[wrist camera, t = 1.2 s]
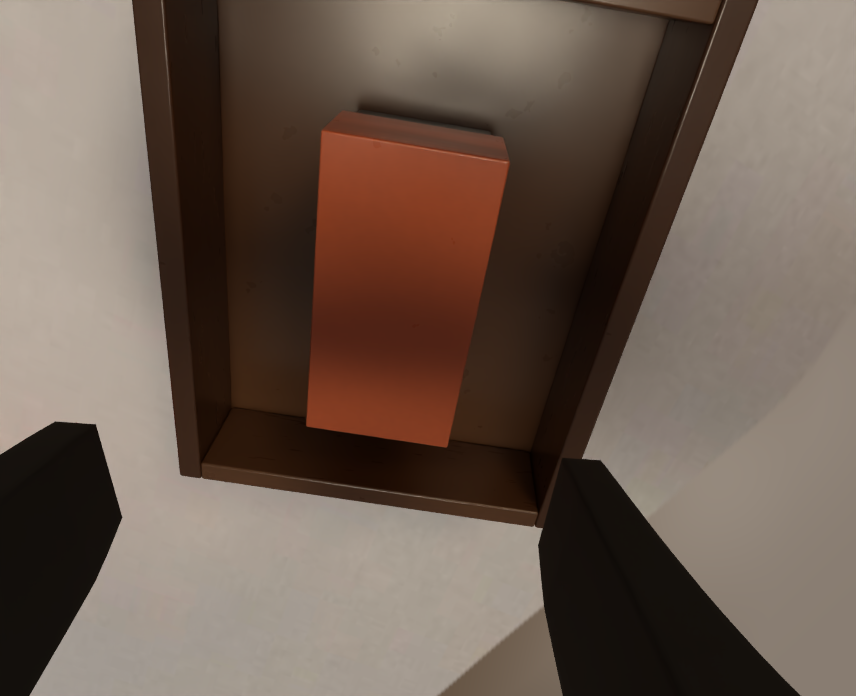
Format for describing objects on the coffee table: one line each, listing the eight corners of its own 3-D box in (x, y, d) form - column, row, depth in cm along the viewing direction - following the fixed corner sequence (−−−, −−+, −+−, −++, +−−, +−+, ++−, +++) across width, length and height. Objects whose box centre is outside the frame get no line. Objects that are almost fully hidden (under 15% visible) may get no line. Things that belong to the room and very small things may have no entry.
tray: (700, -9, 14) (764, -10, 11) (542, 459, 22) (555, 531, 19) (192, -100, 14) (117, -126, 11) (218, 410, 22) (179, 476, 19)
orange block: (352, 99, 15) (320, 129, 12) (500, 124, 16) (510, 161, 12) (333, 351, 20) (305, 427, 16) (450, 369, 20) (447, 448, 16)
